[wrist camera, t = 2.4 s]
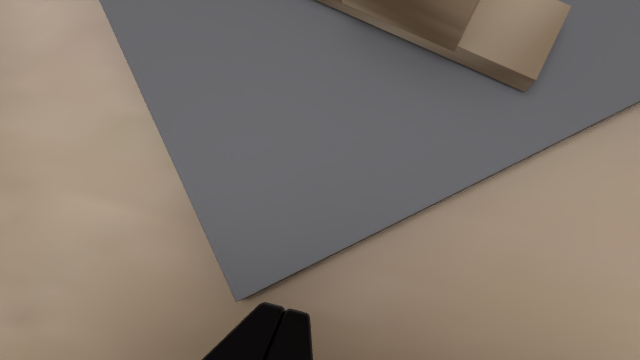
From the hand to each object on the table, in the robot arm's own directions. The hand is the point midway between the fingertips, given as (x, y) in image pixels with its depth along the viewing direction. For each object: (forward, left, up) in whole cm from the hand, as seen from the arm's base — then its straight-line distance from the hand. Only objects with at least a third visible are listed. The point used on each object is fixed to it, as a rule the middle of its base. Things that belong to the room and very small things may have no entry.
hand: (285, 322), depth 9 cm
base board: (+7, +11, -13) cm, 18 cm away
